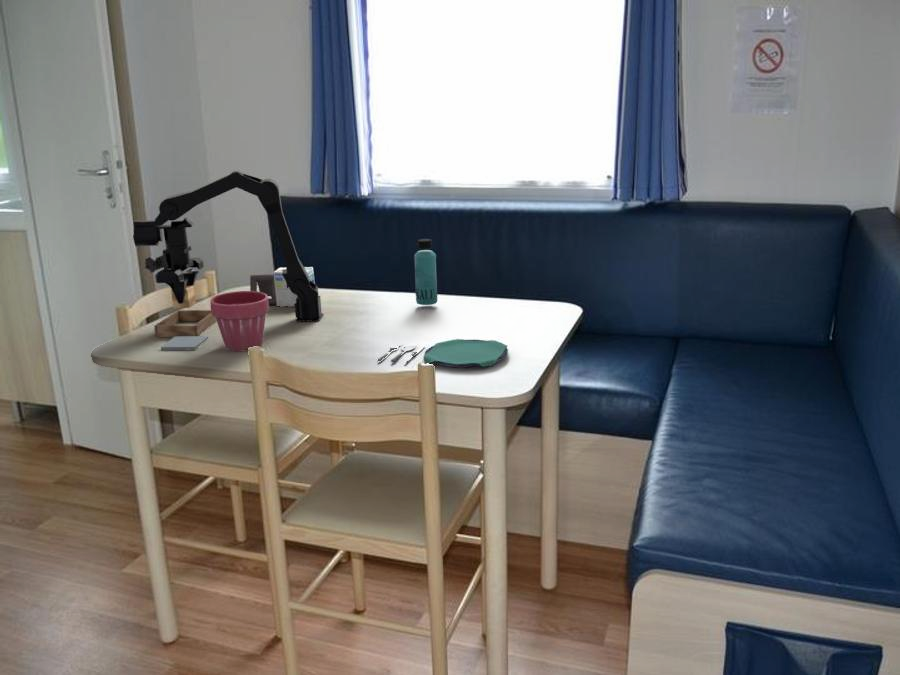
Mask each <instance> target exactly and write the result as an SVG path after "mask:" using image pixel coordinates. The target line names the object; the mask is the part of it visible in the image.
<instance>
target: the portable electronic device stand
mask: <svg viewBox="0 0 900 675" xmlns="http://www.w3.org/2000/svg"><path fill="white" fill-rule="evenodd" d="M249 276H250V277H249V278H250V279H249V281H250V286H249V287H250V288H249V289H250V290H249V291H257V292H262V293H265V294H266V295H267V296H268V302H269V306H277V302H276V292H275V283H274V273H271V274H270V273H269V274H267V273H266V274H251V275H249ZM269 297H270V298H269Z"/></svg>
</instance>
